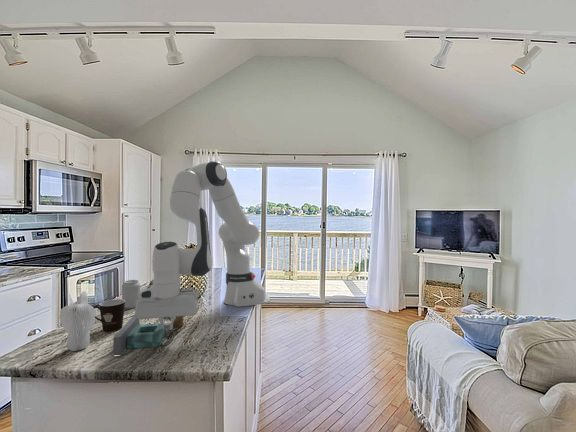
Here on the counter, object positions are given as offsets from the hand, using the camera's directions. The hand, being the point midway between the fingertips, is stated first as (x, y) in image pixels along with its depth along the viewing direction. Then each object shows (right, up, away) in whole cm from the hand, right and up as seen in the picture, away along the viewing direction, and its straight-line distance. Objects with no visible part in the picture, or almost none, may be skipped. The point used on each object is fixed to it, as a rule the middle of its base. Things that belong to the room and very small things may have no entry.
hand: (167, 329), depth 108 cm
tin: (-24, -3, +56) cm, 62 cm away
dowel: (-1, -3, +13) cm, 13 cm away
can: (-31, -3, +36) cm, 47 cm away
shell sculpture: (-26, -4, -7) cm, 27 cm away
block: (-7, -4, -1) cm, 8 cm away
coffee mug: (-26, -4, +10) cm, 28 cm away
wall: (-13, -4, -2) cm, 13 cm away
